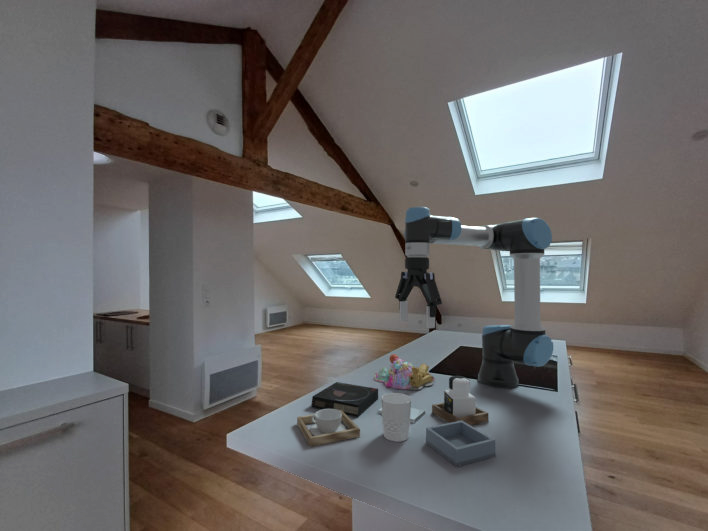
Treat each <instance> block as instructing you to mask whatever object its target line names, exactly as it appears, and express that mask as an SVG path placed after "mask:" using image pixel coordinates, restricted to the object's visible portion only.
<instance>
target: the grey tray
mask: <svg viewBox="0 0 708 531" xmlns="http://www.w3.org/2000/svg"><path fill="white" fill-rule="evenodd" d="M425 443H426V444H427V445H428V446H429V447H431V448H432V449H433V450H435V451H436V452H437V453H439V454H440V455H441V456H442V457H443V458H445V459H446V460H447V459H448V460H447V461H448V462H450V463H451V464H453V466H455V467H456V468H457V467H461V466H465V465H468V464H473V463H476V462H480V461H483V460H486V459H490V458H494V457H496V439H494V438H492V437H491V436H489V435H488V434H486V433H484V432H482V431H481V430H479V429H478V428H476V427H474V426H473V425H471V426H470V425H469V424H467V423H465V422H464V421H462V420H461V421H457V422H452V423H448V422H446V423H443V424H438V425H437V424H436V425H432V426H428V427H425Z"/></svg>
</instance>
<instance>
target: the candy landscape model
mask: <svg viewBox="0 0 708 531" xmlns="http://www.w3.org/2000/svg"><path fill="white" fill-rule="evenodd" d="M388 360H389V362H390V365H389V369H388V368H387V367H382V368H381V369H379V371H378V372H375V375H374V381H376V382H379V383H383V384H384V385H385V386H386V388H391V389H397V390H409V391H410V390H411V391H413V390H414V391H418V390H421V389H423V388H424V387H428V386H433V385H434V384H435V382H434V381H435V380H436V379H435V377H434V376H432V374H430V372H429V369H430V366H428V365H427V364H426V363H421V364H420V366H419V367H415V366H413V364H412V363H411V362H408V361H405V359H401V358H400V357H399V356H398V354H395V353H393V354H391V355H390V356H389V359H388Z"/></svg>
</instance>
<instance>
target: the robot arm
mask: <svg viewBox="0 0 708 531" xmlns="http://www.w3.org/2000/svg"><path fill="white" fill-rule="evenodd" d="M404 223H405V225H404V234H403V235H404V239H405V241H404V242H405V245H404V246H405V247H404V248H405V249H404V250H405V251H404V252H405V253H404V255H405V256H406V257H405V258H404V269H406V270H407V271H401V273H400V279H399V283H398V285H397V289H396V293H395V294H394V295H395V296H394V297H395V299H397V300H398V304H399V308H398V310H399V322H408V320H409V319H408V311H409V308H408V307H409V306H408V305H409V304H408V303H409V302H408V297H409V295H410V294H411V292H412V290H413V289H414V287H417V288H419V289H420V291H421V293H422V295H423V297H424V299H425V300H426V303H427V305H426V309H425V310H426V312H425V313H426V314H425V315H426V319H425V320H426V321H425V323H426V324H425V326H426V327H425V328H426V329H436V317H437V306H439V305H442V304H443V302H442V301H443V300H442V298H441V295H440V291H439V288H438V286H437V282H436V279H435V278H436V277H435V275H436V274H435V272H428V270H429V269H430V258H429V257H430V244H434V245H435V244H436V245H453V246H454V245H455V246H470V247H478V248H479V249H482V250H493V251H499V252H509V256H510V257H511V258H512V259H513V273H514V274H513V277H514V278H513V279H514V280H513V282H514V285H513V286H514V289H513V290H514V291H513V292H514V323H513V324H512V325H511V324H497V325H496V324H492V325H485V326H483V328H482V335H481V341H482V342H481V344H482V347H481V348H482V361H481V365H480V368H479V372H478V374H477V381H478V382H479V383H481V384H483V385H486V386H491V387H495V388H504V389H505V388H507V389H511V388H516V387H518V386H519V377H518V375H517V373H516V368H515V365H514V362H516V363H520V364H524V365H526V366H529V367H531V366H532V367H537V368H538V367H543V366H545V365H546V364H548V362H549V360H550V359H551V358H552V356H553V353H554V342H553V340H552V338H551V337H550V336H549V335H547V334H546V328H545V327H544V326H543V325H542V322H541V321H542V320H541V258H542V257H543V256H545V249H548V248H549V247H550V246H551V243H552V240H553V234H552V230H551V228H550V226H549V224H548V223H547V222H546V221H545V220H544V219H542V218H540V217H530V218H529V217H528V218H523V219H516V220H512V221H507V222H506V221H505V222H502V223H497V224H482V225H480V226H472V225H471V226H468V225H462V222H461V221H460V220H459V218H456V217H452V216H442V215H432V214H431V211H430V208H428V207H427V206H426V207H425V206H414V207H409V208H408V209H406V212H405V221H404Z"/></svg>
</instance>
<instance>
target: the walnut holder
mask: <svg viewBox="0 0 708 531" xmlns="http://www.w3.org/2000/svg"><path fill="white" fill-rule="evenodd" d="M431 413H432V414H434V415H435V416H437V417H438V418H440V419H441V420H443V421H445V422H446V423H452V422H457V421H461V420H462V421H464V422H465V423H467V424H469V425H470V426H475V425H479V424H484V423H488V422H489V412H487V411H485V410H483V409H482V408H479V407H477V406H476V414H474V415H469V416H464V417H459V418H457V417H455V416H454V415H452V414H450V413H448V412H447V411H445V410H444V402H439V403H433V404H432V405H431Z"/></svg>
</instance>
